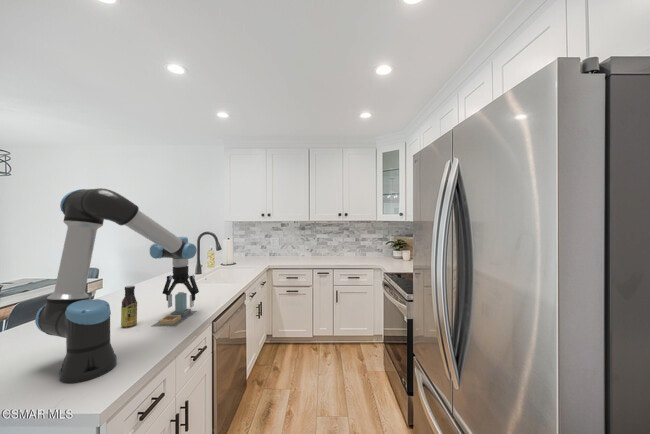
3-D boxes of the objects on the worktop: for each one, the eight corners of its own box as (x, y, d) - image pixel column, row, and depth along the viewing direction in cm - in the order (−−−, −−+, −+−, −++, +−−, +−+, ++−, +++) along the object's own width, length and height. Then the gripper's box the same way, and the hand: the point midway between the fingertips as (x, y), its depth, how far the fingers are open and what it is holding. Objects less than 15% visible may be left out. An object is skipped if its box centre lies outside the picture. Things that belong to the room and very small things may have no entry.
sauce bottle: (128, 331, 130) (128, 288, 130) (117, 330, 131) (117, 287, 131) (140, 325, 136) (140, 285, 136) (129, 324, 138) (129, 284, 138)
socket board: (175, 328, 132) (175, 322, 132) (150, 328, 133) (150, 322, 133) (197, 312, 154) (197, 307, 154) (176, 312, 155) (176, 307, 155)
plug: (182, 315, 146) (182, 293, 146) (175, 315, 146) (175, 293, 146) (186, 313, 150) (186, 291, 150) (179, 313, 150) (179, 291, 150)
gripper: (205, 264, 152) (205, 304, 152) (163, 264, 152) (163, 304, 152) (199, 267, 144) (199, 309, 145) (154, 267, 145) (154, 309, 145)
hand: (180, 306), depth 148 cm, fingers open, 11 cm apart
